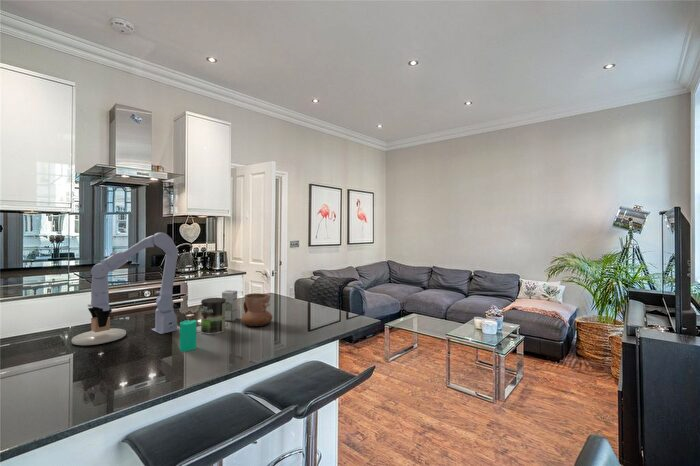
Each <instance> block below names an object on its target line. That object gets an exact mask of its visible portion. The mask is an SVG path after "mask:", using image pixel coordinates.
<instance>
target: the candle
mask: <svg viewBox="0 0 700 466" xmlns="http://www.w3.org/2000/svg"><path fill="white" fill-rule="evenodd" d="M197 321H198V320H196V319H192V320H190V319H189V317H188V318H187V319H186V320H183V321H180V322H179V351H180V350H181V351H180V352H185V351H186V352H191V351H190V350H192V351H194V350H193V349H195V348H196V349H197V324H198V323H197ZM196 349H195V350H196Z"/></svg>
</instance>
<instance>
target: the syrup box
mask: <svg viewBox="0 0 700 466" xmlns="http://www.w3.org/2000/svg"><path fill="white" fill-rule="evenodd" d="M221 298H224V299H226V302H225V322H234V321H236V319H237V318H238V290H231V289H230V290H227V289H226V290H224V291H222V292H221Z"/></svg>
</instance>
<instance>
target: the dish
mask: <svg viewBox="0 0 700 466" xmlns="http://www.w3.org/2000/svg"><path fill="white" fill-rule="evenodd" d="M125 336H127V330H125V329H123V328H110V330H106V331H101V332H96V333H95V332H94V331H92V330H89V331H85V332H82V333H79V334H77V335H75V336H73V337H72V338H71V343H72V345H76V346H92V345H93V346H95V345H100V344H106V343H110V342H115V341H118V340H119V339H122V338H124V337H125Z"/></svg>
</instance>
